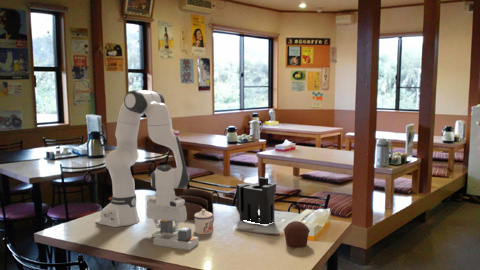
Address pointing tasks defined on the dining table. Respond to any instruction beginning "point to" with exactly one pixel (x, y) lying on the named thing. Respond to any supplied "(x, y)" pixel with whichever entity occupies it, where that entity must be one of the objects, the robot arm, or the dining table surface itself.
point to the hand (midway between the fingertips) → (166, 228)
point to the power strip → (174, 241)
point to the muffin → (296, 234)
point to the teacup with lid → (204, 222)
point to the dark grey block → (184, 234)
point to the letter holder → (197, 201)
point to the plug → (166, 226)
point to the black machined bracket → (256, 201)
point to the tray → (159, 232)
